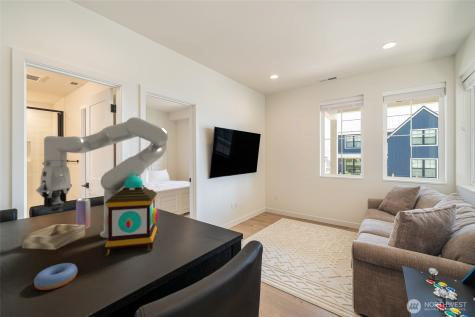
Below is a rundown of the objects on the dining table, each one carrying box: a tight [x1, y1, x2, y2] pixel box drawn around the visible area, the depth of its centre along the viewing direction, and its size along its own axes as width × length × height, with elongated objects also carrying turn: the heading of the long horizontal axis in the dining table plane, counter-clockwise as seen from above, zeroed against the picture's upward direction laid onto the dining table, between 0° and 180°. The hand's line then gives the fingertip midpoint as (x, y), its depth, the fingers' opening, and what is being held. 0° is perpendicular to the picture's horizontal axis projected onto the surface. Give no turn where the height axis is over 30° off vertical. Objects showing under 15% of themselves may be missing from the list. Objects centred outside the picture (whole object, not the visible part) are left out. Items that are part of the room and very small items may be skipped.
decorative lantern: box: [103, 176, 159, 256], centre depth 87 cm, size 20×20×30 cm
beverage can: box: [75, 197, 91, 230], centre depth 107 cm, size 6×6×15 cm
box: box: [21, 223, 86, 250], centre depth 90 cm, size 15×15×5 cm
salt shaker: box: [47, 190, 65, 214], centre depth 90 cm, size 6×6×12 cm
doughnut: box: [33, 262, 78, 291], centre depth 62 cm, size 10×10×5 cm
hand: (55, 204), depth 90 cm, fingers closed on salt shaker, 5 cm apart
